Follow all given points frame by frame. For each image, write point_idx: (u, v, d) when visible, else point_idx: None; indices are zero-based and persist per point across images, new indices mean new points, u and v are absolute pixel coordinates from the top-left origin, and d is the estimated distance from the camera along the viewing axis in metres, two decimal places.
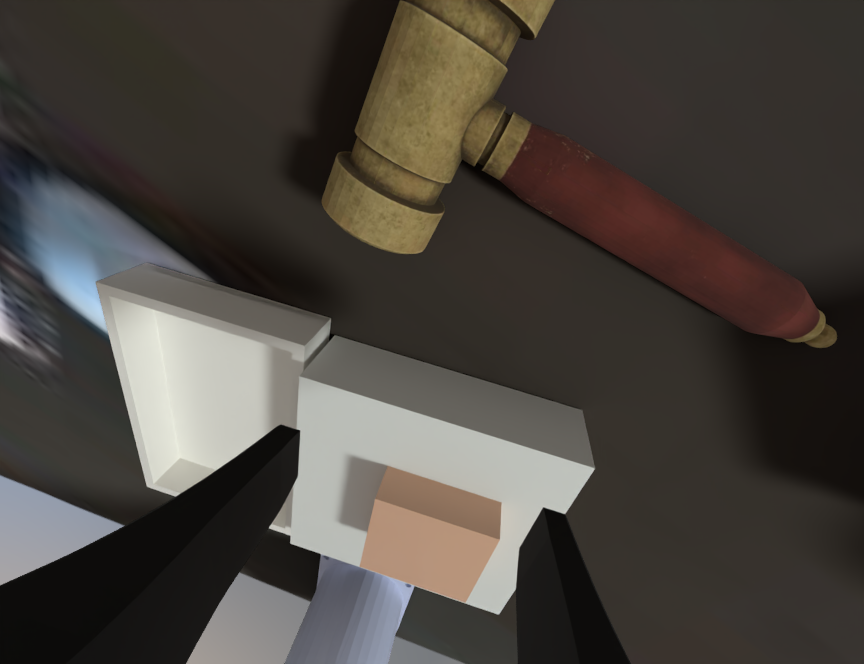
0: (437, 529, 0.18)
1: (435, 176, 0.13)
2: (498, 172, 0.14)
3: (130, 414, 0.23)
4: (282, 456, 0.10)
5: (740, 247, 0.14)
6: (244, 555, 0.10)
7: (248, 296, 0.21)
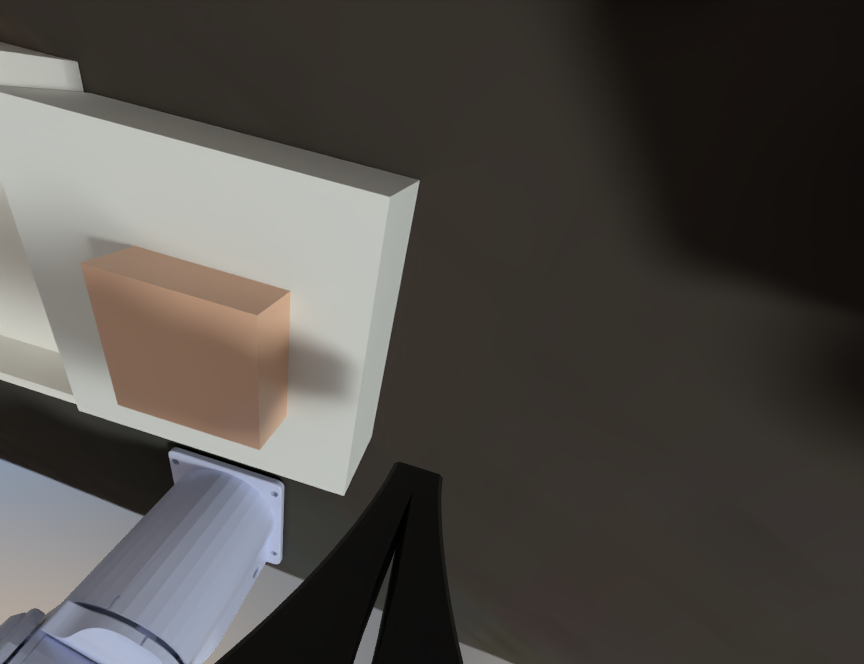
0: (176, 310, 0.12)
1: None
2: None
3: None
4: (410, 497, 0.10)
5: None
6: (375, 600, 0.10)
7: None
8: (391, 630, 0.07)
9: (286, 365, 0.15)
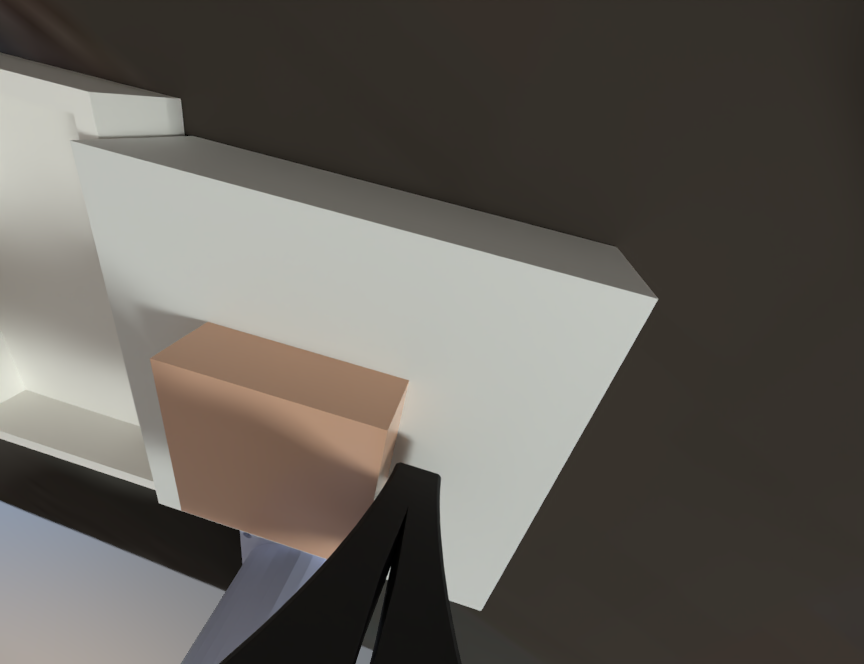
0: (274, 418, 0.09)
1: None
2: None
3: None
4: None
5: None
6: (376, 600, 0.10)
7: (38, 63, 0.12)
8: (389, 629, 0.07)
9: (390, 462, 0.12)
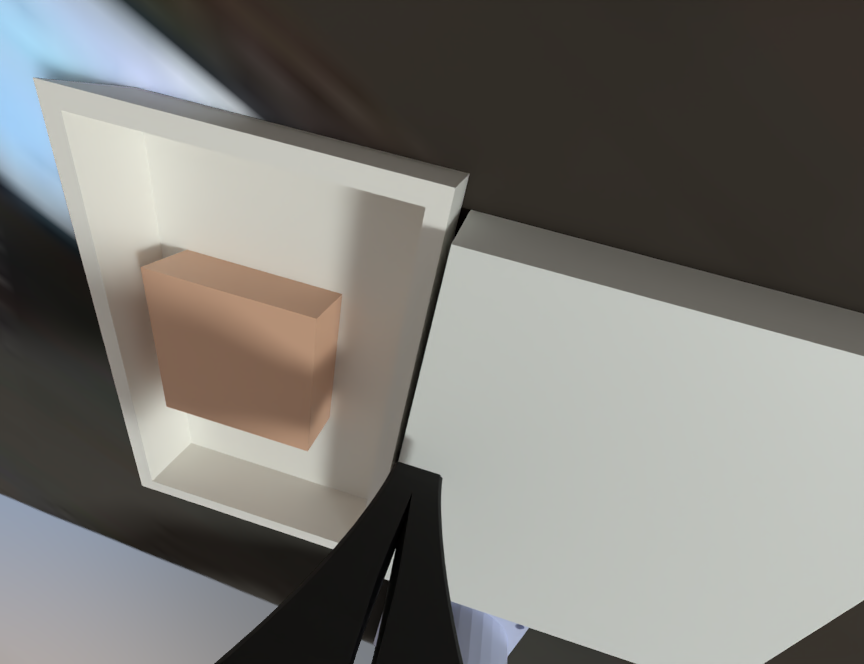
0: None
1: None
2: None
3: (112, 363, 0.14)
4: (410, 497, 0.10)
5: None
6: (375, 600, 0.10)
7: (318, 136, 0.12)
8: (391, 630, 0.07)
9: None
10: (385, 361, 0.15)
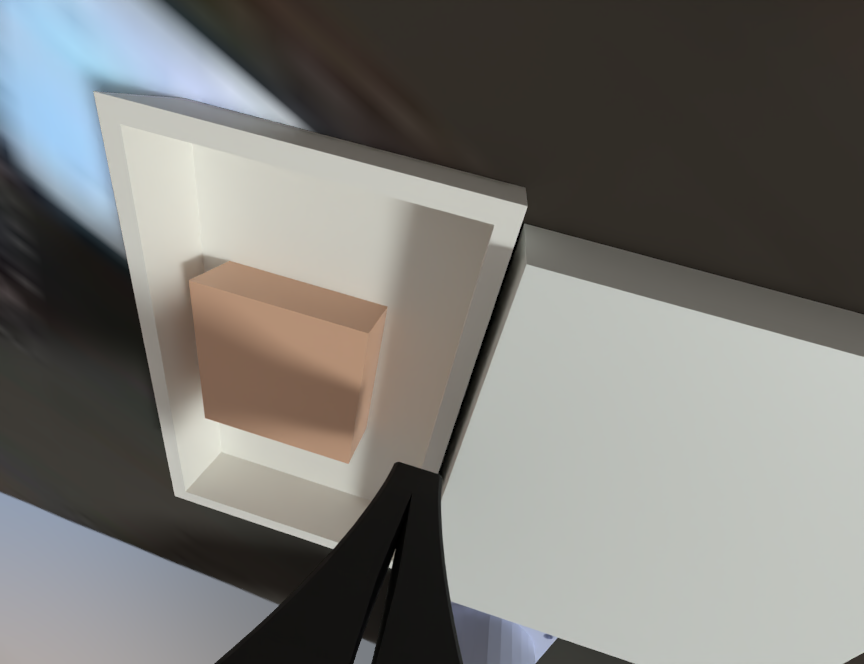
0: None
1: None
2: None
3: (153, 375, 0.14)
4: (410, 497, 0.10)
5: None
6: (375, 600, 0.10)
7: (372, 148, 0.11)
8: (391, 630, 0.07)
9: None
10: (428, 373, 0.14)
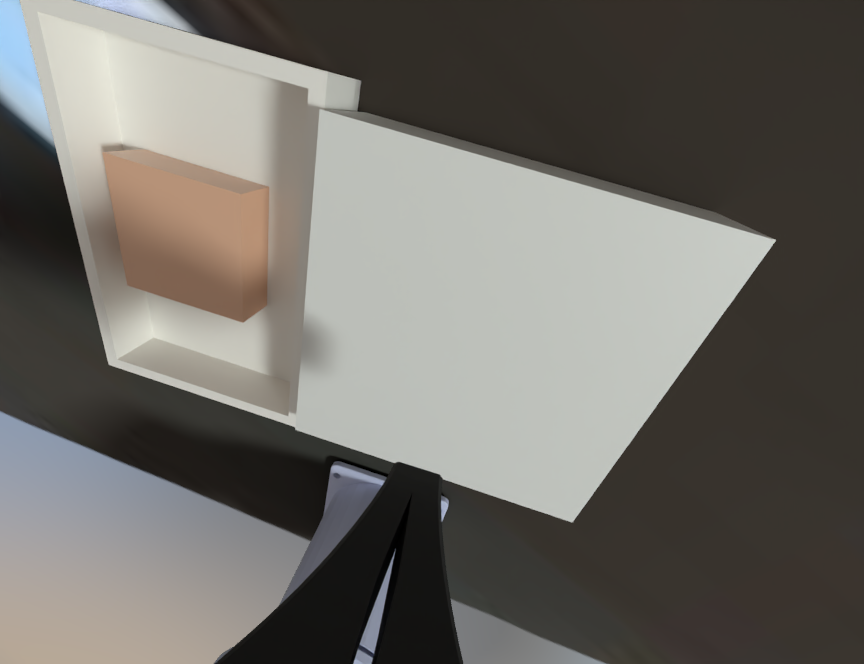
0: None
1: None
2: None
3: (80, 241, 0.17)
4: (410, 497, 0.10)
5: None
6: (375, 600, 0.10)
7: None
8: (391, 630, 0.07)
9: None
10: None
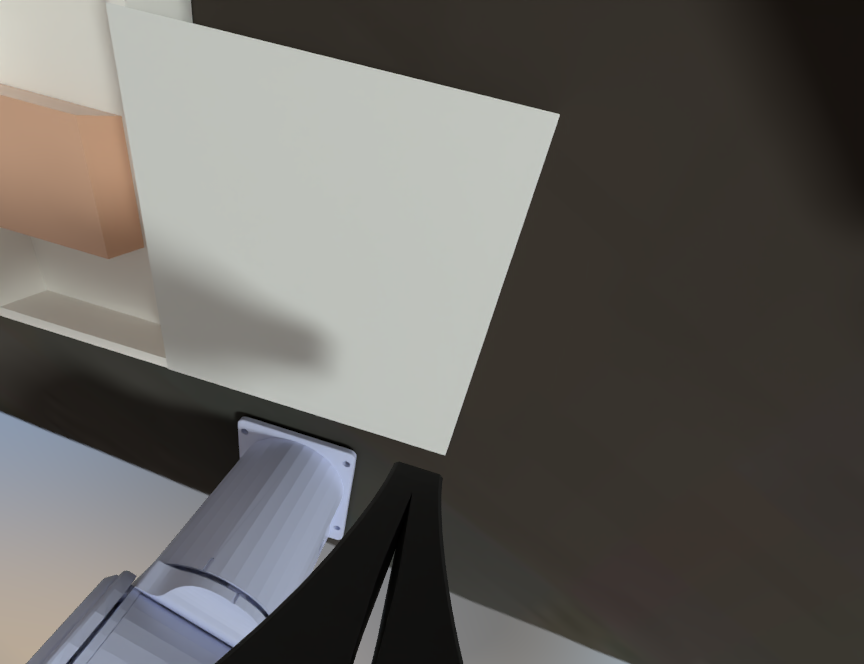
0: None
1: None
2: None
3: None
4: (410, 497, 0.10)
5: None
6: (375, 600, 0.10)
7: None
8: (391, 630, 0.07)
9: None
10: None
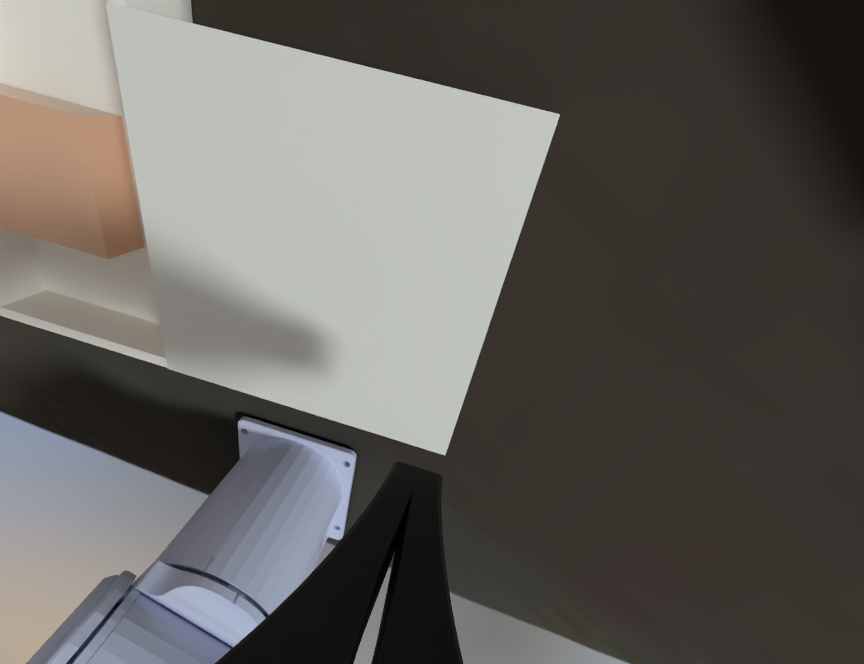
0: None
1: None
2: None
3: None
4: (410, 497, 0.10)
5: None
6: (375, 600, 0.10)
7: None
8: (391, 630, 0.07)
9: None
10: None
